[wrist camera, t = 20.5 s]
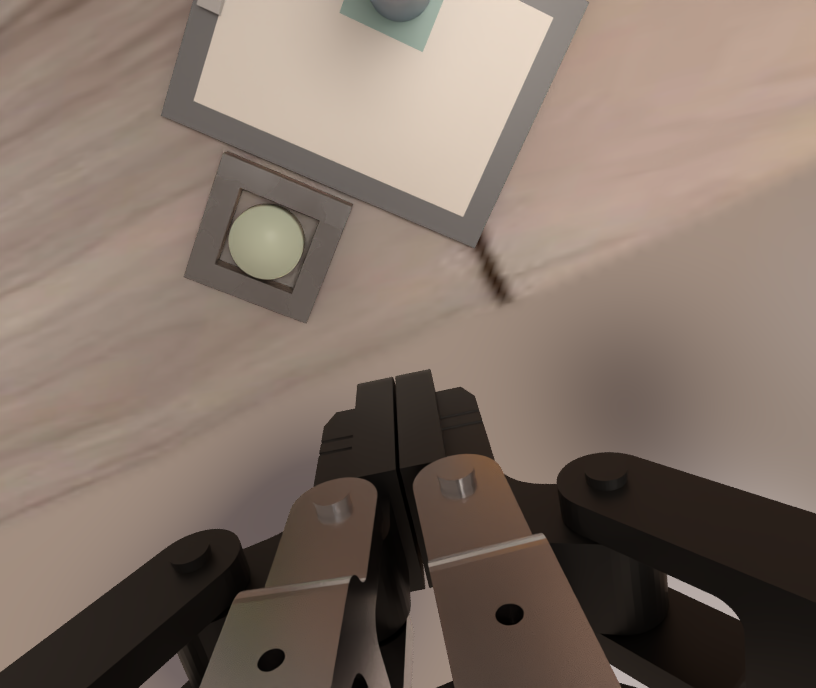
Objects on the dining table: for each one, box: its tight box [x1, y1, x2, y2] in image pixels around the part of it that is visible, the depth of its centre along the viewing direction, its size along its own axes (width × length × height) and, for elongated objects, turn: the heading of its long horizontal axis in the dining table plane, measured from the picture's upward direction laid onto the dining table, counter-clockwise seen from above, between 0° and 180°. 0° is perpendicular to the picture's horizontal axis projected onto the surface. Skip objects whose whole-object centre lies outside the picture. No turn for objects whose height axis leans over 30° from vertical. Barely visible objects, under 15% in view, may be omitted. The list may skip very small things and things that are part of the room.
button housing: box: [184, 151, 353, 323], centre depth 40 cm, size 8×8×1 cm
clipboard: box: [161, 0, 589, 248], centre depth 37 cm, size 20×15×1 cm
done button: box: [229, 204, 305, 279], centre depth 40 cm, size 4×4×1 cm
